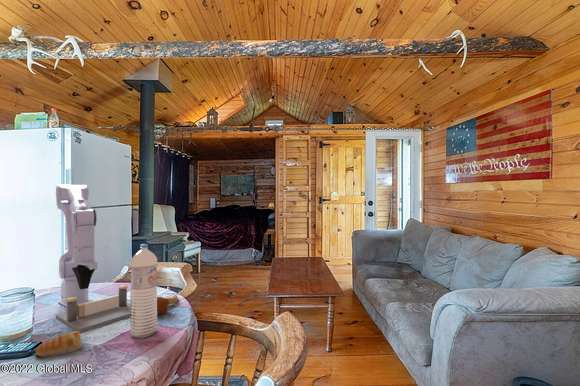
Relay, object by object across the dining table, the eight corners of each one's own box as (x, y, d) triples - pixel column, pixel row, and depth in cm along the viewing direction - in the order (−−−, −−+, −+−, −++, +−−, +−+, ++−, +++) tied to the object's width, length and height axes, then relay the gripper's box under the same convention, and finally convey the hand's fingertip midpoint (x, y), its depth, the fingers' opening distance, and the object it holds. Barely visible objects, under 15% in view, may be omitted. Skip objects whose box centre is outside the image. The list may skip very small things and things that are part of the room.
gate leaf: (116, 305, 108) (116, 294, 108) (119, 306, 107) (119, 295, 107) (76, 316, 98) (76, 304, 98) (79, 317, 97) (79, 305, 97)
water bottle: (139, 341, 85) (140, 247, 85) (125, 335, 89) (125, 245, 88) (162, 331, 91) (162, 243, 91) (147, 326, 94) (147, 241, 94)
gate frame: (55, 317, 100) (55, 294, 100) (117, 301, 116) (117, 280, 116) (79, 332, 90) (79, 306, 90) (144, 312, 105) (144, 289, 105)
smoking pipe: (142, 318, 101) (142, 300, 101) (161, 299, 119) (161, 283, 119) (166, 318, 101) (166, 299, 101) (181, 298, 120) (181, 283, 120)
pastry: (35, 362, 74) (35, 346, 74) (35, 351, 80) (35, 336, 80) (83, 350, 80) (83, 335, 80) (80, 340, 86) (80, 326, 86)
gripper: (60, 246, 104) (60, 287, 104) (79, 250, 96) (79, 295, 96) (84, 243, 110) (84, 282, 110) (104, 247, 102) (104, 290, 102)
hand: (84, 288), depth 103 cm, fingers closed
